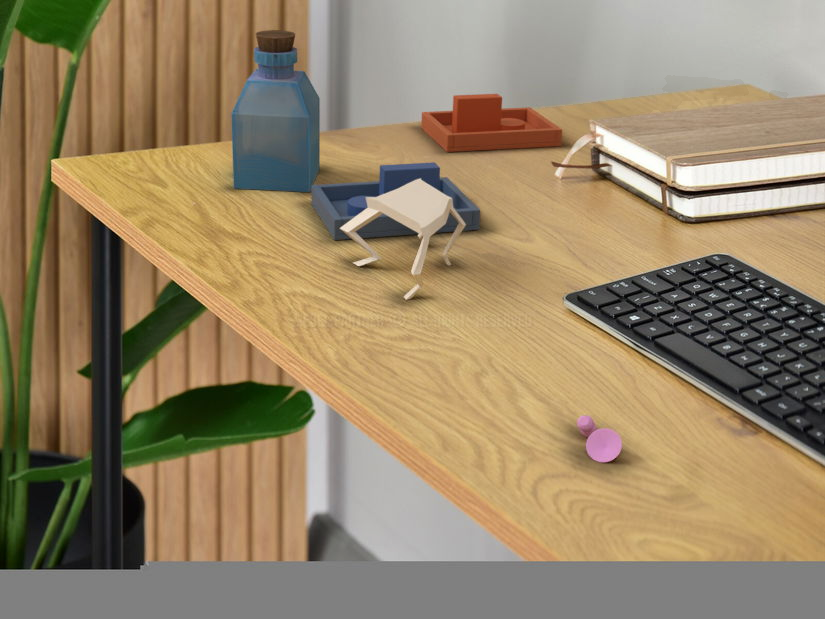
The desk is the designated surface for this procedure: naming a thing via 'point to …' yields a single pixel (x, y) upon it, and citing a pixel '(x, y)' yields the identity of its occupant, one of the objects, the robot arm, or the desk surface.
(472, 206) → the blue tray
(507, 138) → the terracotta tray
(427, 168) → the blue block with disc
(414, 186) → the origami figure
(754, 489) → the desk surface
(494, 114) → the red brick block
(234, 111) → the perfume bottle
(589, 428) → the pink game pawn
